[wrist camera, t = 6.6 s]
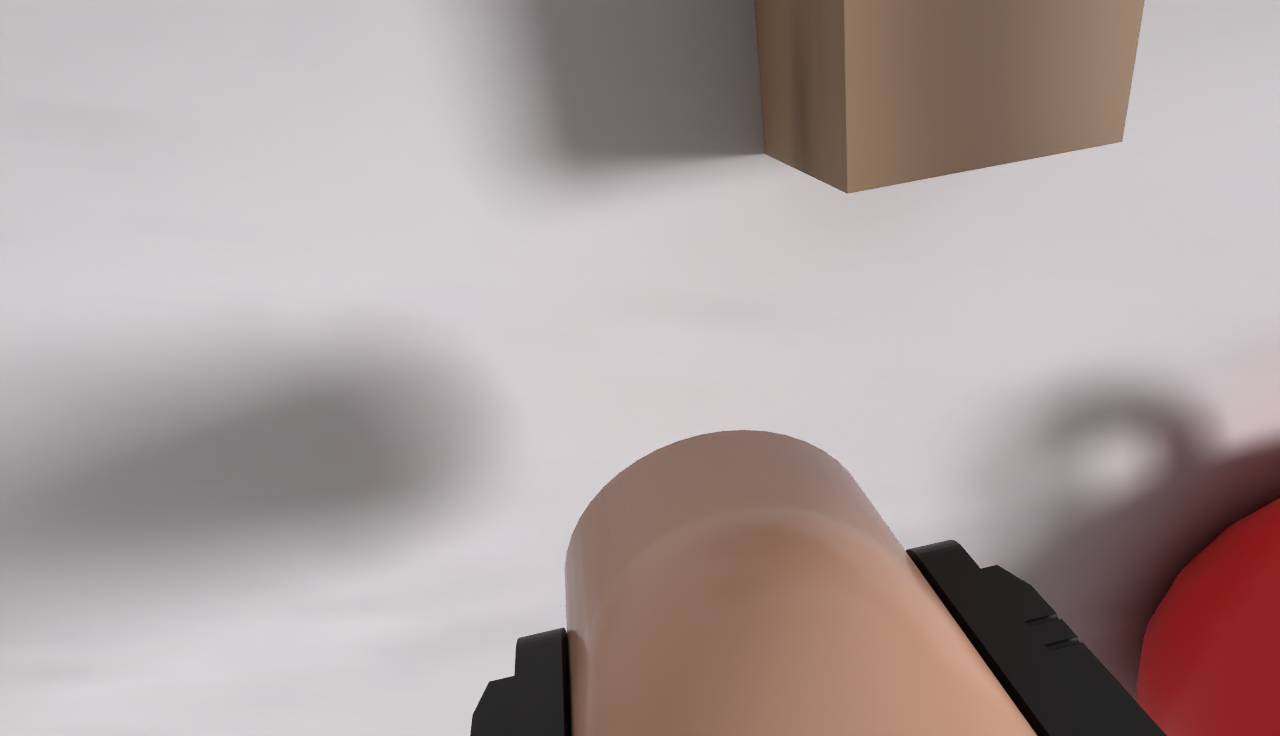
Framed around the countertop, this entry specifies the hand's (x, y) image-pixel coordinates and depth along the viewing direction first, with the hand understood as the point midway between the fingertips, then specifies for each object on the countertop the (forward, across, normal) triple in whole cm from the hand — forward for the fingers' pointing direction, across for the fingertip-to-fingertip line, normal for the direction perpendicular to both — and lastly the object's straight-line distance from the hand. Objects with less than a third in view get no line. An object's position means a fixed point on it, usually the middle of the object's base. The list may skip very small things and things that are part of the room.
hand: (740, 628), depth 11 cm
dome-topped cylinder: (+1, 0, 0) cm, 1 cm away
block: (+8, -6, -8) cm, 13 cm away
